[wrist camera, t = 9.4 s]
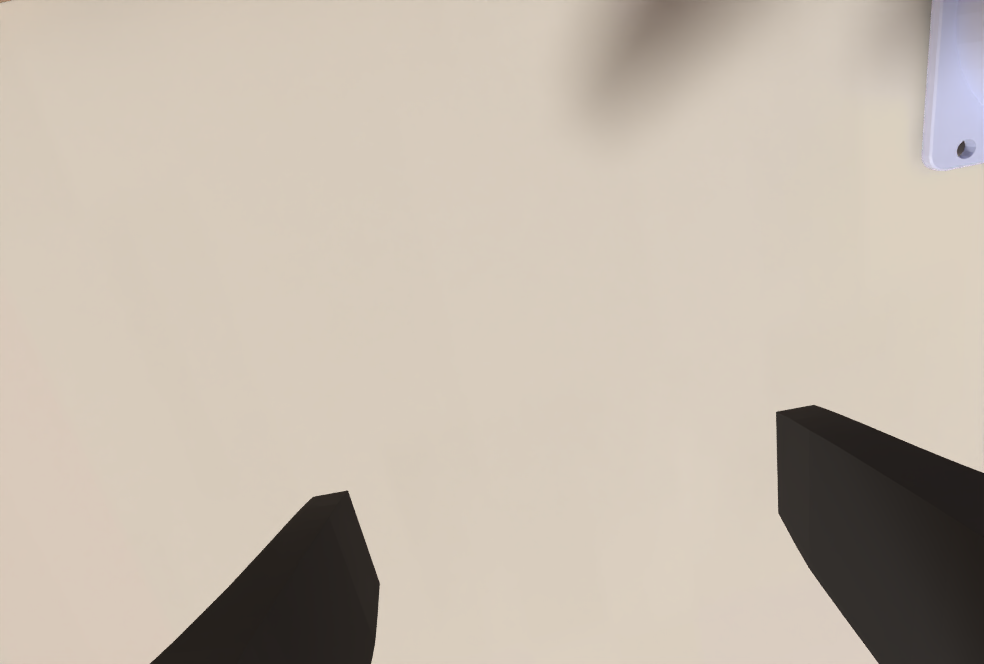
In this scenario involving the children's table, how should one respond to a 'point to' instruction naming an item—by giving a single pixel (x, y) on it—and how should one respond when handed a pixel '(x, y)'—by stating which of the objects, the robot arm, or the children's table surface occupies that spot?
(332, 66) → the children's table surface
